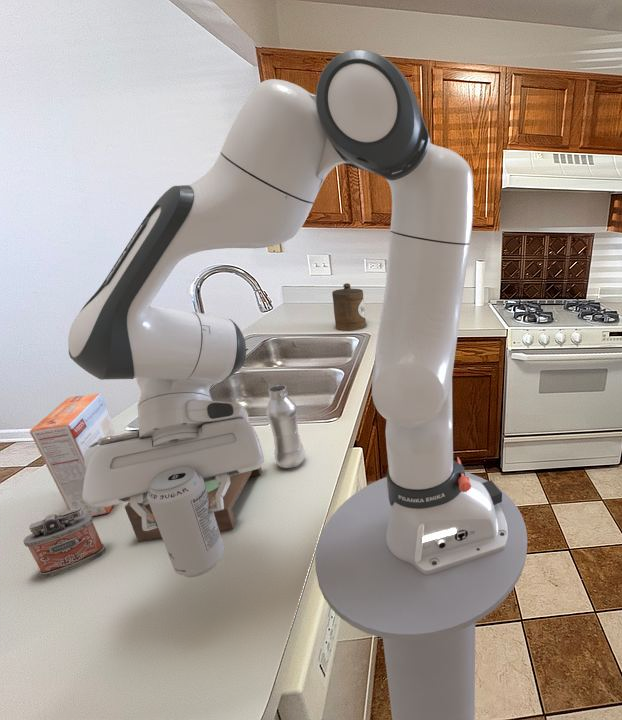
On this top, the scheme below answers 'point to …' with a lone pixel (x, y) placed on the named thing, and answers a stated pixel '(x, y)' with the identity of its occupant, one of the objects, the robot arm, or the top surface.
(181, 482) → the energy drink can
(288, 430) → the silver metal bottle
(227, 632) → the top surface
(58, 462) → the cracker box
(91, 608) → the top surface
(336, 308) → the wooden container
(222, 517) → the shelf
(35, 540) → the lighter
